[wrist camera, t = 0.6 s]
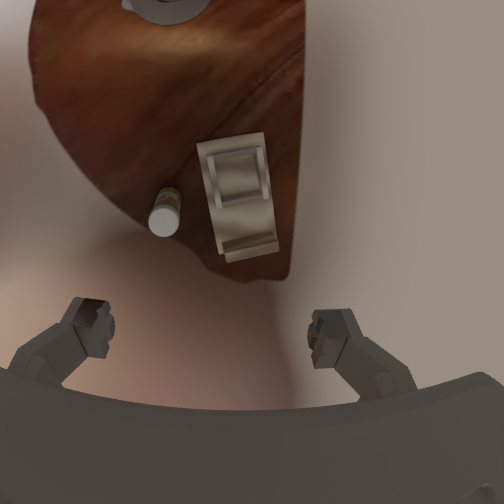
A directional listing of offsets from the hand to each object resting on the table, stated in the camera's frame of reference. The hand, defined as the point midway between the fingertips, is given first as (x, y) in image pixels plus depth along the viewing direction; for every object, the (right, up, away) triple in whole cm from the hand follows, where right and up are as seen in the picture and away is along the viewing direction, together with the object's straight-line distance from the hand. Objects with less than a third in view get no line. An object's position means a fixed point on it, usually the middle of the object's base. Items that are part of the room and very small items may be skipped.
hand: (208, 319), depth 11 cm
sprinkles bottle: (-14, +13, +41) cm, 45 cm away
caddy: (-1, +14, +44) cm, 46 cm away
